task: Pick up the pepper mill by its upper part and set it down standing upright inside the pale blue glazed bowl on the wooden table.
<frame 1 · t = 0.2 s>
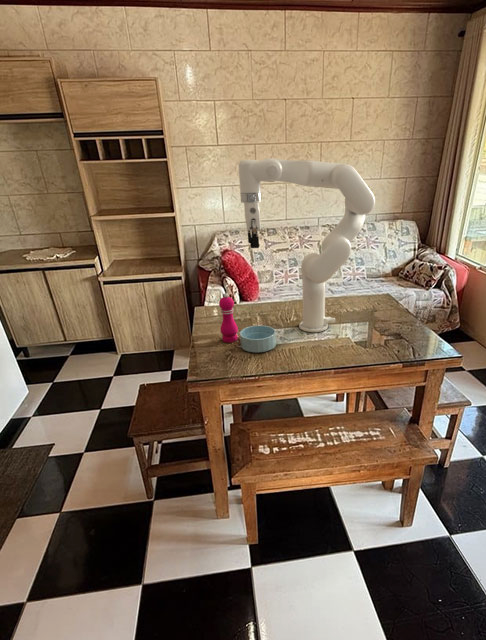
hand: (253, 245, 158), 37 cm above the table, tool pointing down, fingers open, 9 cm apart
pepper mill: (230, 339, 171), on the table
bowl: (258, 345, 164), on the table
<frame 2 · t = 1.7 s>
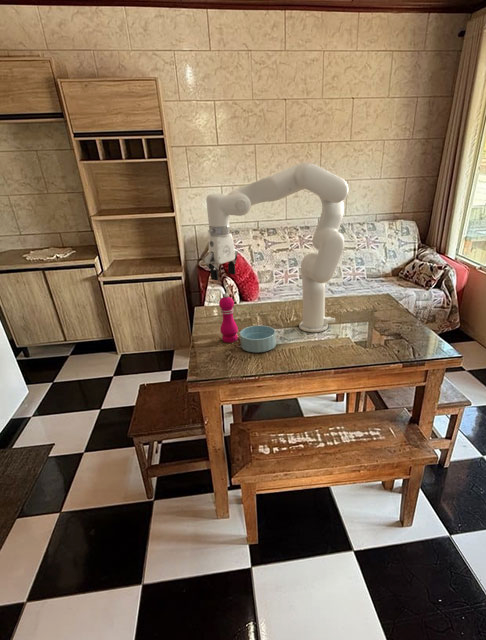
hand: (223, 276, 158), 27 cm above the table, tool pointing down, fingers open, 9 cm apart
nothing on the table moved.
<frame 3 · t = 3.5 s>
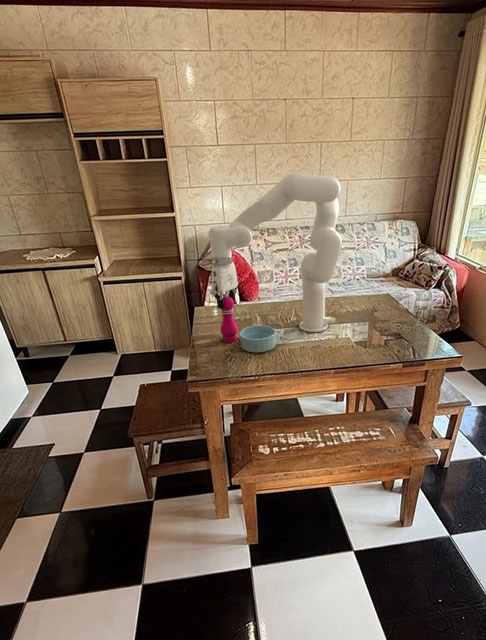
hand: (226, 305, 163), 15 cm above the table, tool pointing down, fingers closed on pepper mill, 6 cm apart
pepper mill: (230, 339, 171), on the table, touching gripper
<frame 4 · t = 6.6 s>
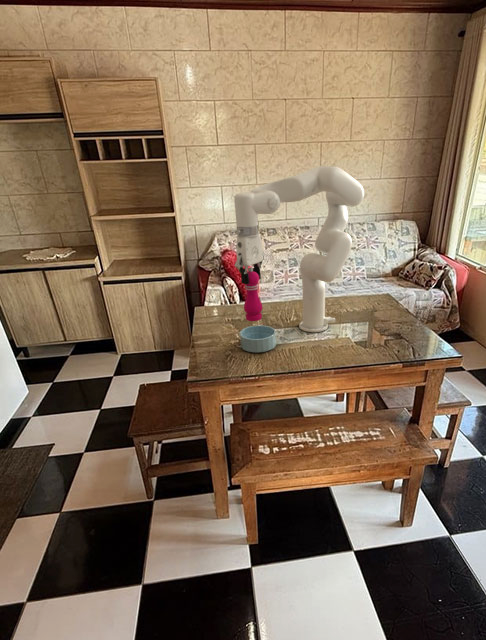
hand: (251, 280, 152), 27 cm above the table, tool pointing down, fingers closed on pepper mill, 6 cm apart
pepper mill: (253, 318, 159), point 11 cm above the table, touching gripper
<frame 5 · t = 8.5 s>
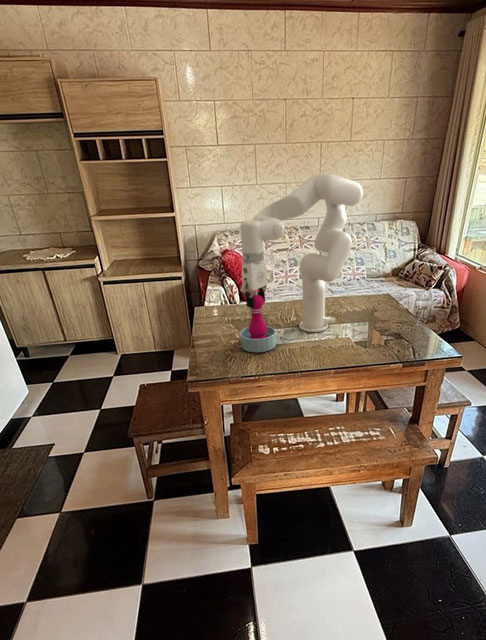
hand: (256, 304, 155), 18 cm above the table, tool pointing down, fingers closed on pepper mill, 6 cm apart
pepper mill: (258, 340, 163), point 3 cm above the table, touching gripper
when the fingers open (16 cm above the table, at t = 9.7 s): pepper mill stays where it is, resting on bowl.
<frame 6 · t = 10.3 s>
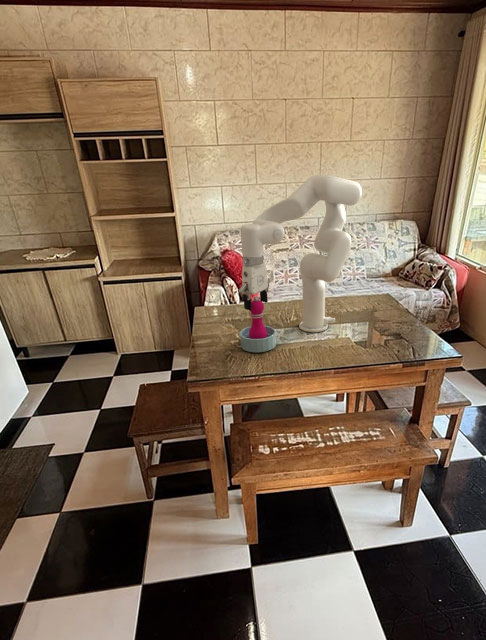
hand: (256, 305, 156), 17 cm above the table, tool pointing down, fingers open, 9 cm apart
pepper mill: (258, 345, 164), resting on bowl
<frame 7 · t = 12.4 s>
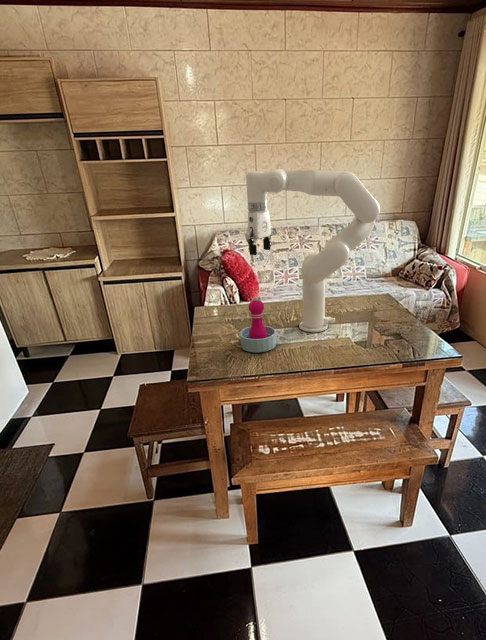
hand: (260, 252, 165), 33 cm above the table, tool pointing down, fingers open, 9 cm apart
nothing on the table moved.
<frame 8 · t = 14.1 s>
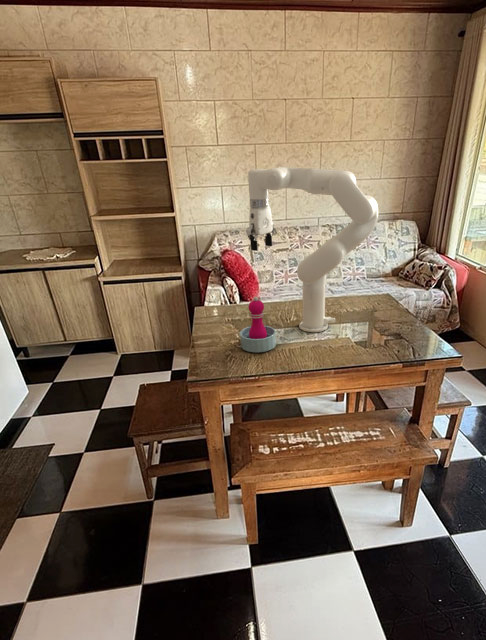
hand: (261, 248, 169), 33 cm above the table, tool pointing down, fingers open, 9 cm apart
nothing on the table moved.
at the end: pepper mill 0.0 cm off-centre in the bowl, point 0.4 cm above the bowl's base; pepper mill tilted 0°; the gripper is holding nothing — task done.
